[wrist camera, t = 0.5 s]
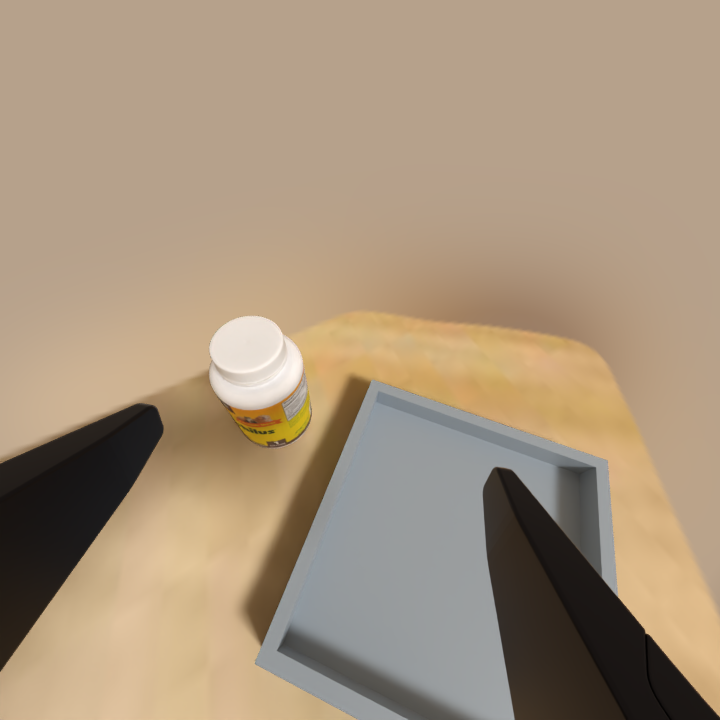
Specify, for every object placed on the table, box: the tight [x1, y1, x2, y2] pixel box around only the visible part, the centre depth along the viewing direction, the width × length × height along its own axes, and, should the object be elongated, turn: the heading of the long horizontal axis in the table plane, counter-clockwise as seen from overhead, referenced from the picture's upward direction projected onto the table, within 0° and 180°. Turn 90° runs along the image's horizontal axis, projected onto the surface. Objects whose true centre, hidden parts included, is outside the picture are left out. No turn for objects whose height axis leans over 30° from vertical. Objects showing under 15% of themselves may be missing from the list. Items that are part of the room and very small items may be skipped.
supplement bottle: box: [209, 316, 312, 449], centre depth 21 cm, size 6×6×10 cm
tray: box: [255, 380, 618, 720], centre depth 20 cm, size 18×18×2 cm
